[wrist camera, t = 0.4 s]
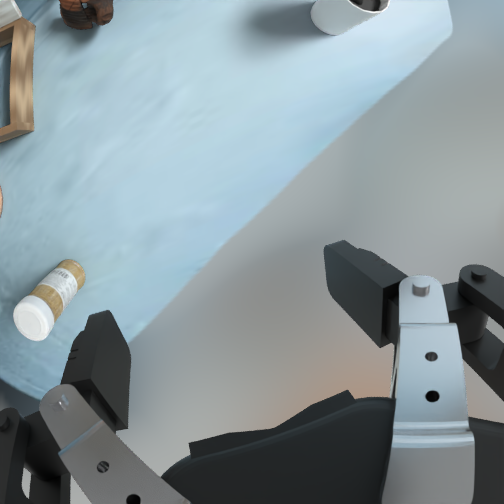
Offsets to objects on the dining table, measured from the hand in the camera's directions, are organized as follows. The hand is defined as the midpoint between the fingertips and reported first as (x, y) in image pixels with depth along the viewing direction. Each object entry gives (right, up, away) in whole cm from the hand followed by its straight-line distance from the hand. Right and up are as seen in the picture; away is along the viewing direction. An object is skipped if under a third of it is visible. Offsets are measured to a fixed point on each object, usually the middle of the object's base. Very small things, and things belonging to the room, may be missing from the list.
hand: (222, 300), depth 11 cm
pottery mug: (-19, +34, +16) cm, 42 cm away
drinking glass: (+11, +33, +21) cm, 41 cm away
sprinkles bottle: (-23, -1, +27) cm, 36 cm away
